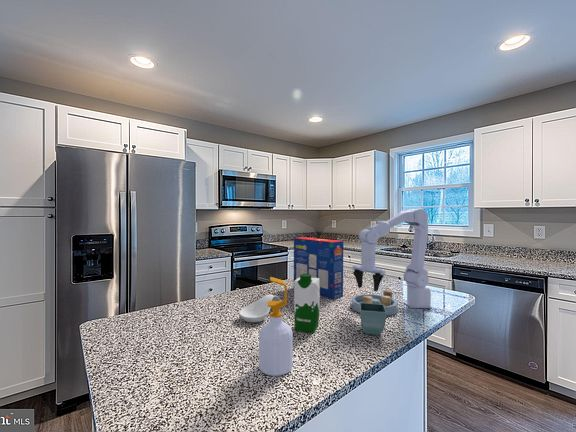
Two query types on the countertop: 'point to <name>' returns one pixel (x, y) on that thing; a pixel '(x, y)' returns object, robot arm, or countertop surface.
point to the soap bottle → (276, 340)
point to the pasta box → (320, 264)
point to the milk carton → (306, 303)
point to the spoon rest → (257, 309)
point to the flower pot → (373, 318)
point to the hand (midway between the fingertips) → (367, 289)
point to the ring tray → (375, 300)
